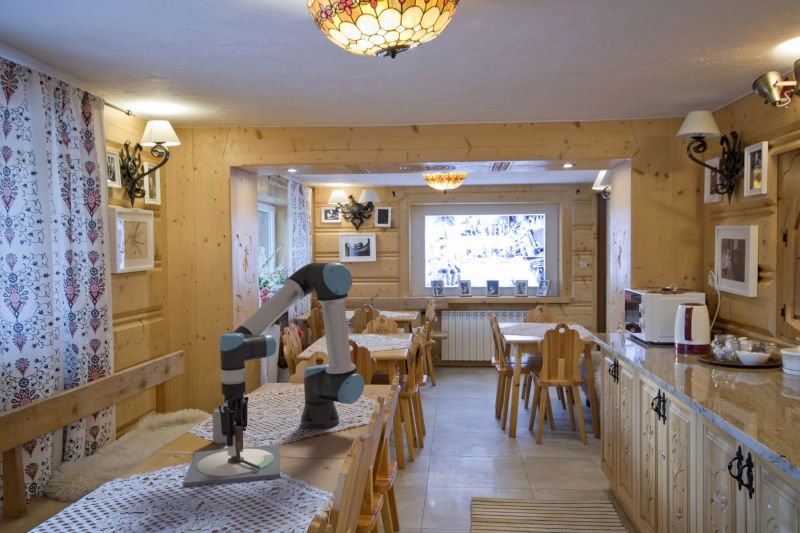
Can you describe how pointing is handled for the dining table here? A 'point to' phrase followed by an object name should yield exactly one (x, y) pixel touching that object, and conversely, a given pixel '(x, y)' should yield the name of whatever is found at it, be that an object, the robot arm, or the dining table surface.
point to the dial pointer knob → (239, 448)
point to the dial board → (234, 466)
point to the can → (218, 428)
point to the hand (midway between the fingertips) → (235, 453)
